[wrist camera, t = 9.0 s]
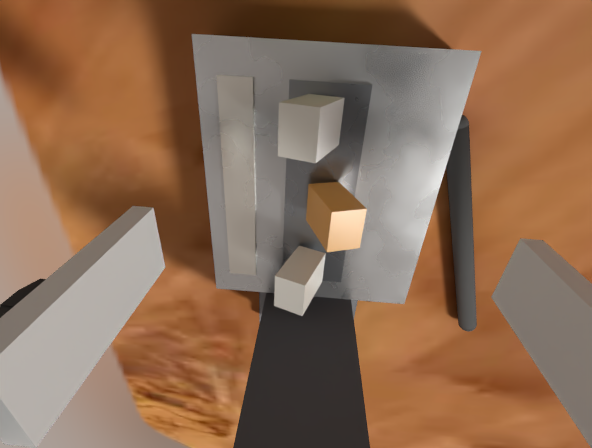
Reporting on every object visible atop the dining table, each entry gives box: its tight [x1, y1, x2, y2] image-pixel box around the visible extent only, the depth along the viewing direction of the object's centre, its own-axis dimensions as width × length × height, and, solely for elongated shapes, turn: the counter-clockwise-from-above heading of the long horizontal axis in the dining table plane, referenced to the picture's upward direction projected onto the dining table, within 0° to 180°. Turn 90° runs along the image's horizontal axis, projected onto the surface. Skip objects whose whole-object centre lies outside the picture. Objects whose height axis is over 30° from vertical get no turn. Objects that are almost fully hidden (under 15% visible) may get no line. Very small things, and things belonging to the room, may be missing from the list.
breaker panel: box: [192, 34, 481, 304], centre depth 18 cm, size 14×12×3 cm
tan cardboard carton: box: [306, 182, 367, 252], centre depth 15 cm, size 2×2×3 cm
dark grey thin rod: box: [446, 115, 477, 331], centre depth 20 cm, size 16×1×1 cm, turn 17°
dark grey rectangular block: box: [233, 292, 370, 448], centre depth 18 cm, size 4×7×14 cm, turn 87°
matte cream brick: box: [274, 246, 326, 316], centre depth 17 cm, size 2×2×3 cm
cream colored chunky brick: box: [278, 94, 344, 163], centre depth 13 cm, size 2×2×3 cm
